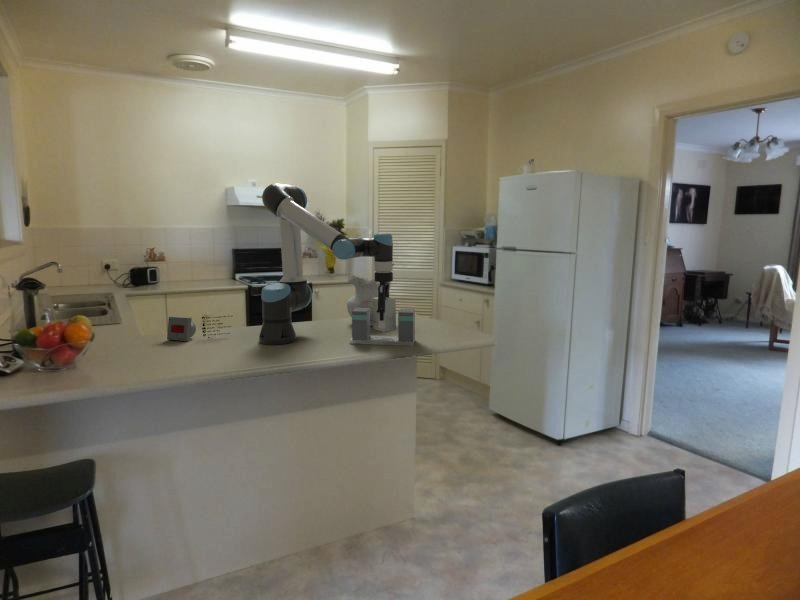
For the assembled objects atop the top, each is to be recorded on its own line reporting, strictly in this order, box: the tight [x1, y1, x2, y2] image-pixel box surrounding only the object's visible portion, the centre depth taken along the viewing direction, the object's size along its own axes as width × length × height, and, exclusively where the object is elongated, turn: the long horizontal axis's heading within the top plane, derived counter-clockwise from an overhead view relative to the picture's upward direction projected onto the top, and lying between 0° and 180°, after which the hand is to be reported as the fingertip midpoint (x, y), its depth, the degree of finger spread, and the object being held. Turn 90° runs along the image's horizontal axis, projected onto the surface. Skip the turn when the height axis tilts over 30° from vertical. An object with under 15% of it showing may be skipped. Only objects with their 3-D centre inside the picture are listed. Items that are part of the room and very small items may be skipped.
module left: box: [351, 308, 371, 340], centre depth 212 cm, size 6×8×12 cm
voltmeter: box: [166, 315, 232, 342], centre depth 218 cm, size 27×11×10 cm, turn 112°
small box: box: [372, 297, 397, 333], centre depth 211 cm, size 8×6×13 cm
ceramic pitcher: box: [346, 274, 391, 327], centre depth 247 cm, size 22×20×25 cm
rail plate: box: [349, 335, 416, 347], centre depth 212 cm, size 26×9×2 cm, turn 83°
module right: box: [397, 308, 416, 342], centre depth 210 cm, size 6×8×12 cm
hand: (384, 325), depth 211 cm, fingers closed on small box, 10 cm apart
